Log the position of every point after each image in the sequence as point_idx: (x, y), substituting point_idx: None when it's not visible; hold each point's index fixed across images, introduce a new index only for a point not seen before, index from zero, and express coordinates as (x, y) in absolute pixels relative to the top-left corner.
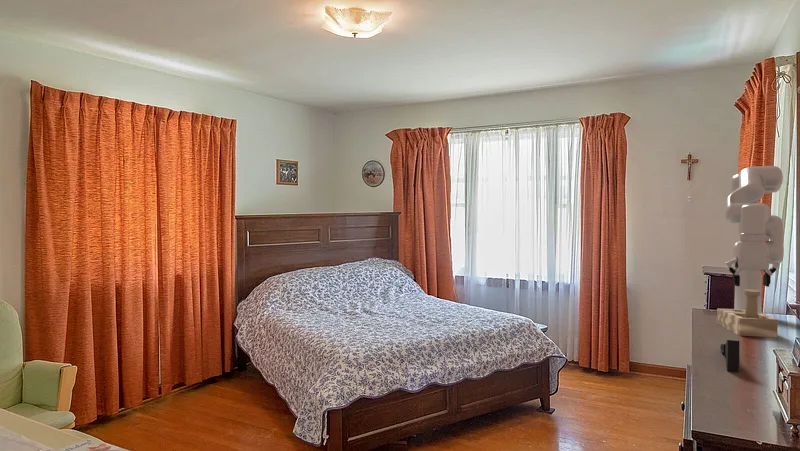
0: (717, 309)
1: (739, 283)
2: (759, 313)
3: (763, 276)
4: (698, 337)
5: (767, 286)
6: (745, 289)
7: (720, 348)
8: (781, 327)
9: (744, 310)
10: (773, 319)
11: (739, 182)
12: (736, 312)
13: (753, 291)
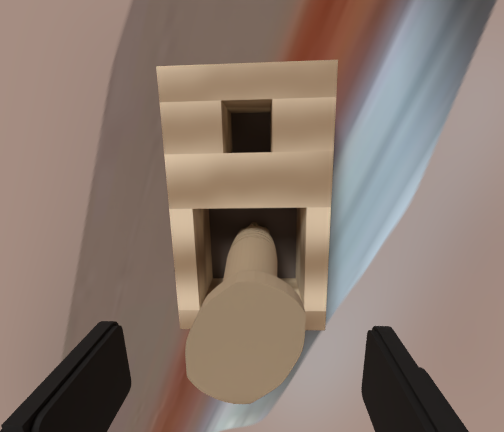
0: (158, 73)
1: (116, 409)
2: (323, 183)
3: (415, 423)
4: (67, 339)
5: (365, 393)
6: (210, 308)
7: None
8: (431, 104)
9: (285, 101)
10: (311, 324)
11: None
12: (218, 178)
13: (234, 388)
